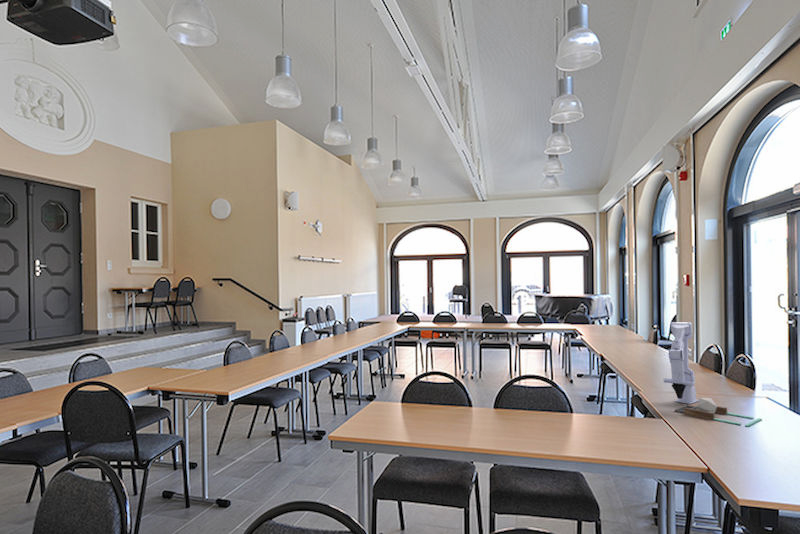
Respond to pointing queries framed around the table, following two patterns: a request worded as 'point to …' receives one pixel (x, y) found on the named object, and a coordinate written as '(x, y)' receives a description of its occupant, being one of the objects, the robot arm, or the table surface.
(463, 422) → the table surface
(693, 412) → the channel
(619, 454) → the table surface
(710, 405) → the die
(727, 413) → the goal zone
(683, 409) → the grey flat rectangular tray
